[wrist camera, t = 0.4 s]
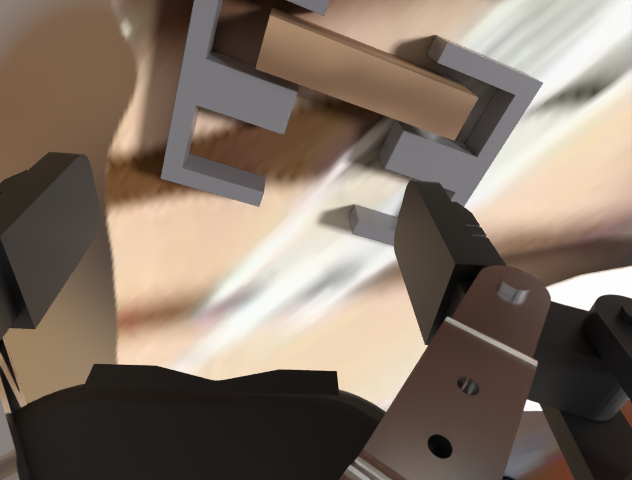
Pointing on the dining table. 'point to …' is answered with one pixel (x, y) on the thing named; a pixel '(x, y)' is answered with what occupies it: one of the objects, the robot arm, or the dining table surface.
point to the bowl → (588, 294)
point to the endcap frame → (277, 103)
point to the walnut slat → (363, 75)
